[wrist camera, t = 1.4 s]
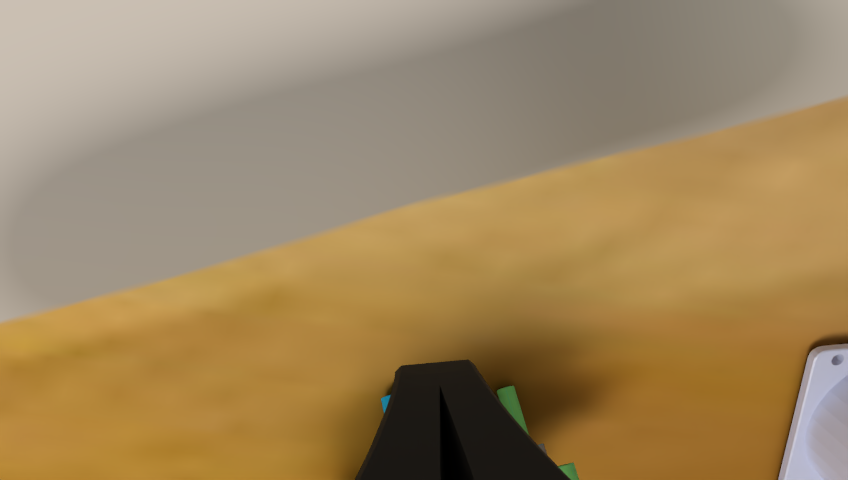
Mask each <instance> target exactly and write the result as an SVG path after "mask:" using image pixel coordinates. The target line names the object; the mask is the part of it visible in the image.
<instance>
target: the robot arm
mask: <svg viewBox="0 0 848 480" xmlns="http://www.w3.org/2000/svg"><path fill="white" fill-rule="evenodd" d="M834 356H835V357H834ZM833 357H834V358H833ZM355 480H571V479H570V478H569V477H568V476H567V475H566V474H565V473H564V472H563V471H562V470H561V469H560V468H559V467H558V466H557V465H556V464H555V463H554V462H553V461H552V460H551V459H550V458H549V457H548V456H547V455H546V454H545V453H544V452H543V450H542V449H541V448H540V447H539V446H538V445H537V444H536V443H535V442H534V441H533V440H532V438H531V437H530V436H529V435H528V434H527V433H526V432H525V430H524V429H523V428H522V427H521V426H520V425H519V423H518V422H517V421H516V420H515V419H514V418H513V417H512V415H511V414H510V413H509V412H508V410H507V409H506V408H505V407H504V406H503V404H502V403H501V402H500V400H499V399H498V398H497V396H496V395H495V394H494V393H493V391H492V390H491V389H490V387H489V386H488V384H487V383H486V382H485V380H484V379H483V377H482V376H481V374H480V373H479V371H478V370H477V368H476V366H475V365H474V364H473V363H472V362H471V361H469V360H459V361H448V362H437V363H426V364H415V365H404V366H401V367H400V368H399V369H398V370H397V371H396V372H395V379H394V384H393V388H392V392H391V395H390V398H389V402H388V405H387V407H386V410H385V413H384V416H383V419H382V421H381V423H380V426H379V428H378V431H377V433H376V436H375V438H374V440H373V443H372V445H371V448H370V450H369V452H368V454H367V456H366V458H365V460H364V462H363V464H362V466H361V468H360V470H359V472H358V474H357V476H356V479H355ZM778 480H848V344H837V345H826V346H820V347H816V348H815V349H813V350H812V351H811V352H810V353H809V356H808V359H807V363H806V367H805V371H804V375H803V379H802V383H801V387H800V392H799V396H798V400H797V404H796V408H795V412H794V416H793V420H792V425H791V429H790V433H789V437H788V441H787V445H786V449H785V453H784V458H783V462H782V466H781V470H780V474H779V478H778Z"/></svg>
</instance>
